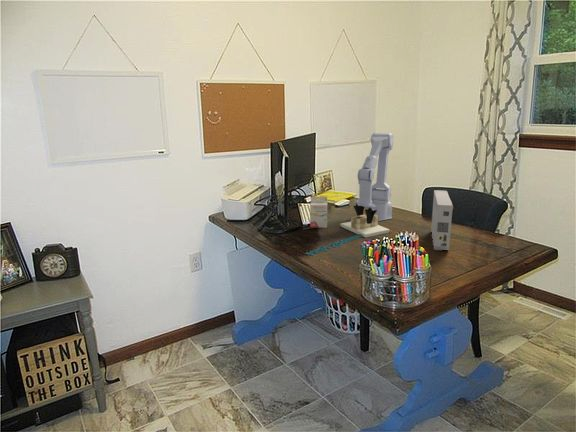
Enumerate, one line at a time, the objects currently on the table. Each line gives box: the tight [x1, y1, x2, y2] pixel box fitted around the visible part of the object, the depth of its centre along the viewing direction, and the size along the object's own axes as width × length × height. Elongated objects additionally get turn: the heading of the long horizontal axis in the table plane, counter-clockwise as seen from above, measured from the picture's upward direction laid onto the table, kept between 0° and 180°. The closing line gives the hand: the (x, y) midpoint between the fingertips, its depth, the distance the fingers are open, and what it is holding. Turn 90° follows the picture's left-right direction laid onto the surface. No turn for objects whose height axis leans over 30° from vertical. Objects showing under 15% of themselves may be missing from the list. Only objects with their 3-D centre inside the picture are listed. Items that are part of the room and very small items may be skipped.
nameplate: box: [304, 234, 363, 256], centre depth 183 cm, size 37×1×5 cm
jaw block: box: [350, 214, 379, 230], centre depth 201 cm, size 5×12×5 cm, turn 117°
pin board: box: [340, 221, 391, 238], centre depth 202 cm, size 14×20×5 cm
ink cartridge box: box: [309, 196, 328, 229], centre depth 207 cm, size 9×5×15 cm, turn 84°
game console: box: [430, 189, 454, 251], centre depth 180 cm, size 6×27×20 cm, turn 164°
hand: (364, 221), depth 201 cm, fingers open, 7 cm apart
